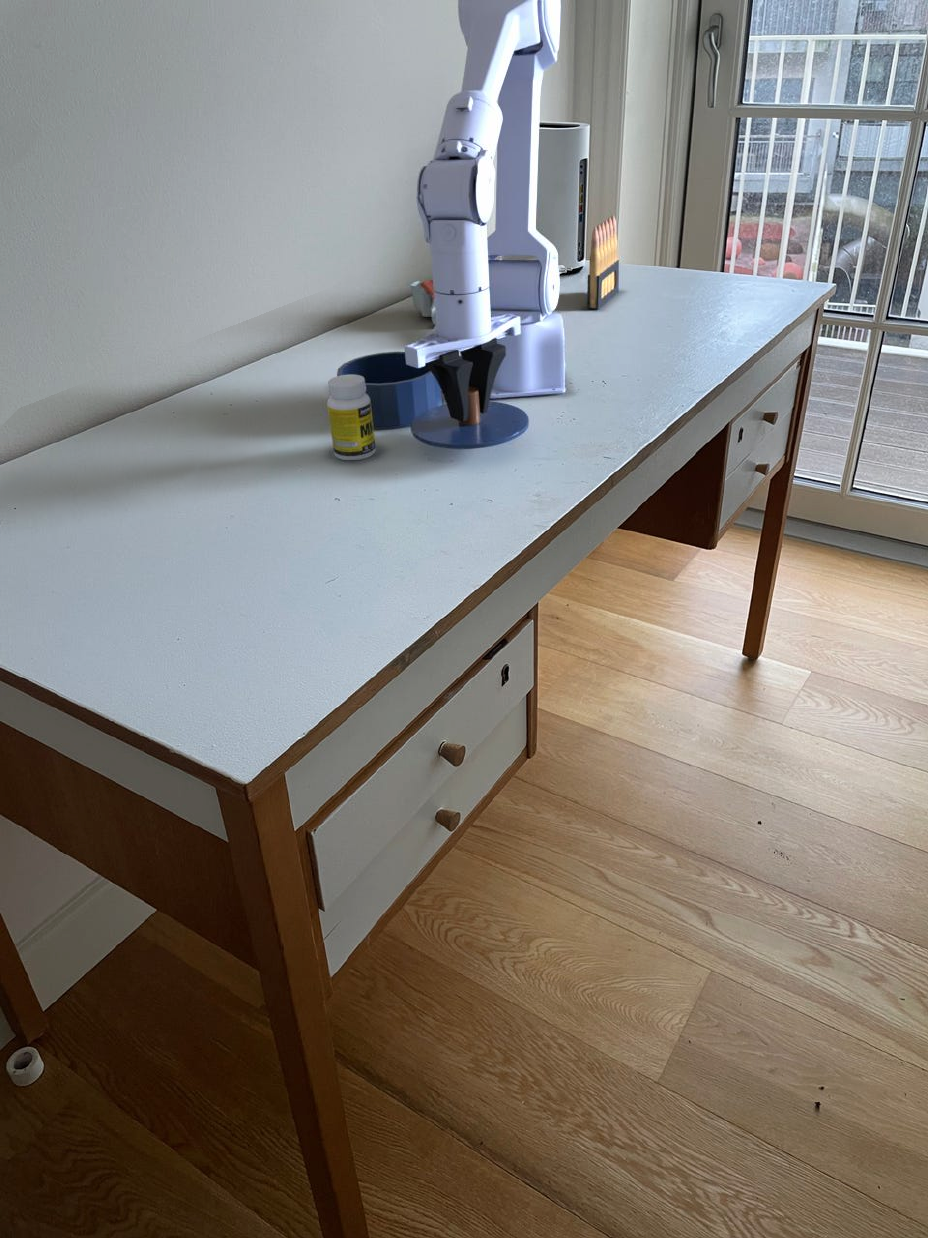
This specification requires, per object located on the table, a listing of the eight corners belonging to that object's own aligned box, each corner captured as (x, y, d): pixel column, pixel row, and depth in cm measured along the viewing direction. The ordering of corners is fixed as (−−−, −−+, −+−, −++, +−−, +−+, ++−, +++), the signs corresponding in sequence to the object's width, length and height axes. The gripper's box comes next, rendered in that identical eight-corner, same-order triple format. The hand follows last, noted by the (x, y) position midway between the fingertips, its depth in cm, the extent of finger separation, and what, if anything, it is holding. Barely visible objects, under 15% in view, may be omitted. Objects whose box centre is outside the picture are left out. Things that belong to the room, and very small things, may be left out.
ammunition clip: (598, 310, 151) (599, 228, 145) (586, 309, 152) (587, 227, 145) (618, 291, 159) (620, 213, 153) (607, 291, 160) (609, 213, 153)
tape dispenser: (468, 357, 140) (535, 311, 153) (466, 321, 137) (534, 277, 150) (369, 338, 148) (441, 296, 161) (365, 303, 145) (439, 263, 158)
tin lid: (474, 401, 116) (472, 362, 113) (553, 428, 107) (553, 386, 105) (388, 433, 109) (383, 393, 106) (465, 465, 100) (462, 421, 98)
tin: (440, 389, 125) (437, 348, 122) (443, 425, 115) (440, 380, 112) (345, 397, 125) (340, 355, 122) (340, 432, 115) (333, 388, 112)
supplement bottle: (369, 462, 107) (360, 388, 102) (328, 461, 108) (317, 387, 103) (381, 445, 111) (373, 372, 106) (341, 444, 112) (331, 372, 107)
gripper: (487, 267, 106) (492, 388, 114) (381, 297, 99) (394, 424, 106) (533, 277, 102) (535, 402, 109) (425, 308, 94) (436, 441, 101)
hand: (469, 414), depth 107 cm, fingers closed on tin lid, 2 cm apart
